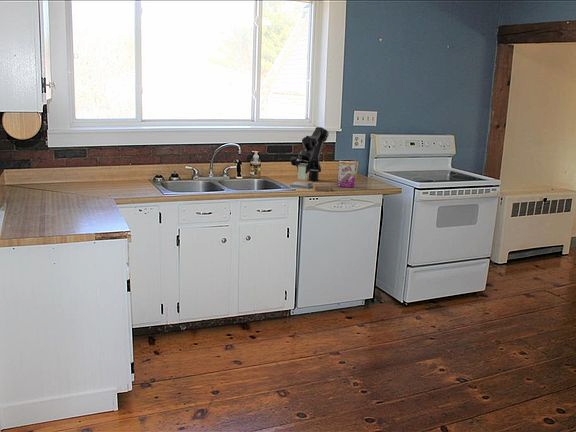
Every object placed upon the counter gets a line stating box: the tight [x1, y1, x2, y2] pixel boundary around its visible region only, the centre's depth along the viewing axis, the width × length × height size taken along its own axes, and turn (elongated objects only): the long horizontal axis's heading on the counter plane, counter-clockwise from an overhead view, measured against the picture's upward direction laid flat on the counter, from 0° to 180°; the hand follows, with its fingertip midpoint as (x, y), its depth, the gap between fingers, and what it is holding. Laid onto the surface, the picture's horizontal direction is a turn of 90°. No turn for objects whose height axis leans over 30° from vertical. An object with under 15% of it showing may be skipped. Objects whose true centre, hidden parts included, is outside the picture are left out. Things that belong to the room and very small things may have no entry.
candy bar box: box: [336, 160, 357, 189], centre depth 378 cm, size 11×5×16 cm, turn 84°
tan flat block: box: [312, 183, 332, 192], centre depth 365 cm, size 8×10×3 cm
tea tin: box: [297, 163, 308, 181], centre depth 372 cm, size 4×5×9 cm
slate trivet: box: [289, 181, 315, 189], centre depth 374 cm, size 12×12×2 cm
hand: (301, 172), depth 371 cm, fingers closed on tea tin, 5 cm apart
